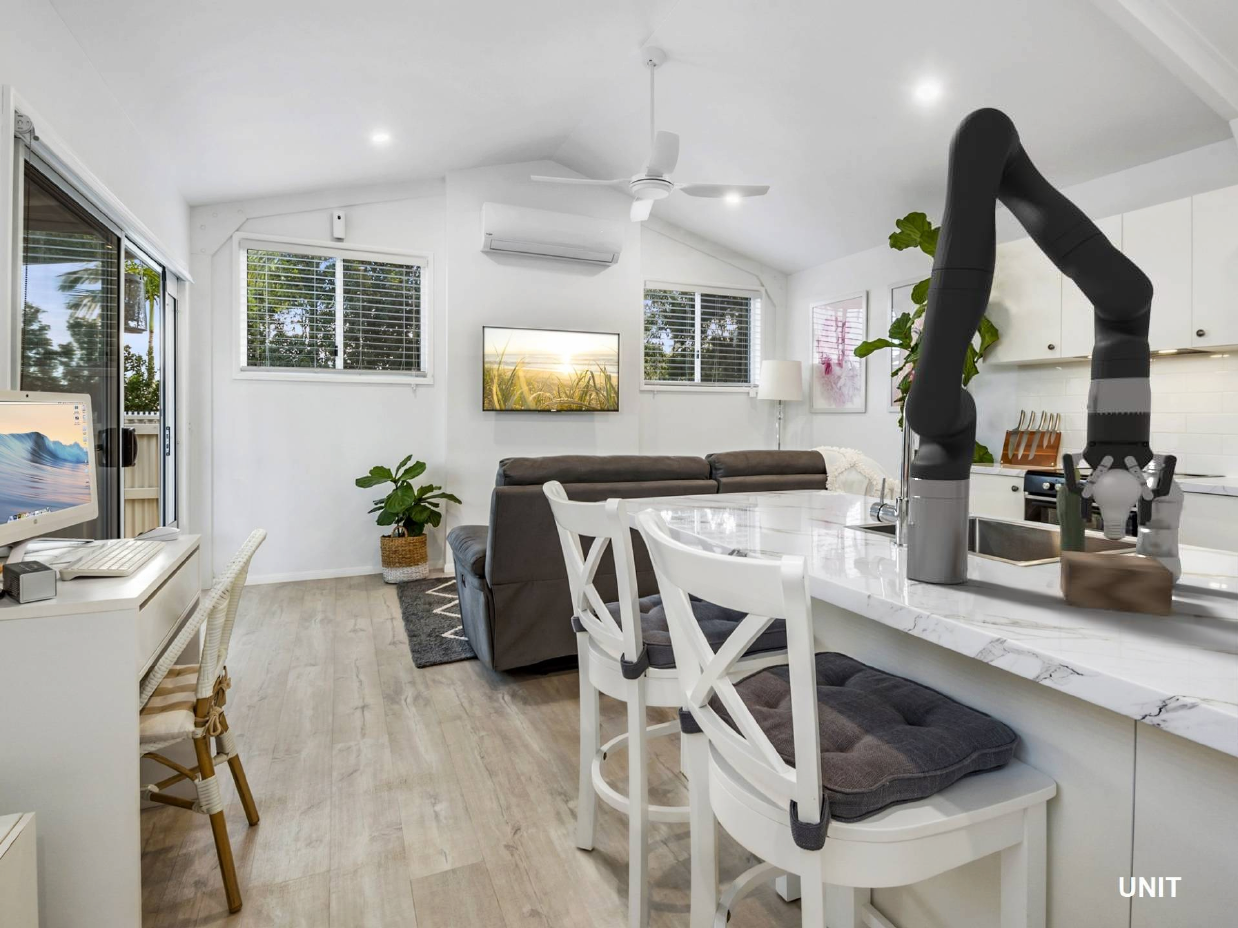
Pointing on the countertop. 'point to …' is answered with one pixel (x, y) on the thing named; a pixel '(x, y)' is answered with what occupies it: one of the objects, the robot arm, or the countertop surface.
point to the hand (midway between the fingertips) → (1114, 523)
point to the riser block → (1116, 582)
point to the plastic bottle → (1162, 526)
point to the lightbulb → (1116, 500)
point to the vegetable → (1070, 519)
